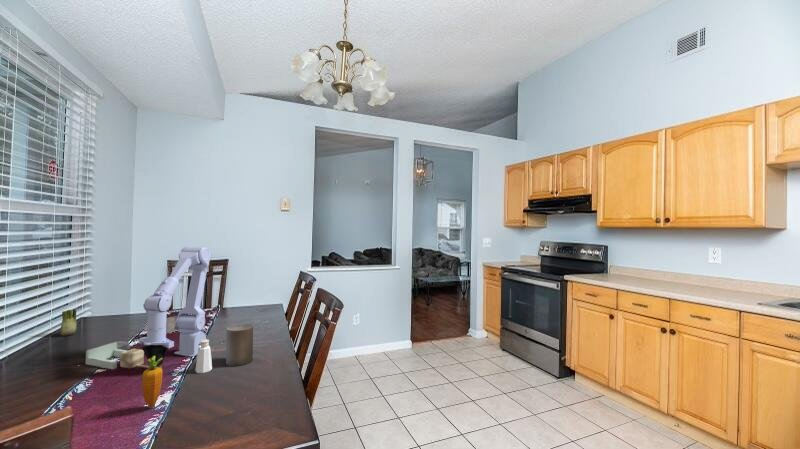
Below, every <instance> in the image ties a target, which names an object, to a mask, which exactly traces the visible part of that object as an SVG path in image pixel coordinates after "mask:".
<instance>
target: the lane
mask: <svg viewBox="0 0 800 449" xmlns="http://www.w3.org/2000/svg"><path fill="white" fill-rule="evenodd" d="M114 342H115V343H112V342H110V343H111V344H108V343H107V344H108V345H105V344H103V345H104V346H102V345H100V346H101V347H100V346H97V347H98V348H94V347H93V348H94V349H91V350H87V349H86V350H85V365H88V366H92V367H99V368H104V369H108V370H115V369H117V367H118V365H117V364H118V363H117V361H116V360H111V359H109V358H113V357H116V358H117V357H118V358H120V353H122V352H125V351H128V350H121V349H117V343H116V342H117V341H114Z"/></svg>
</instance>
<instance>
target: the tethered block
mask: <svg viewBox="0 0 800 449" xmlns="http://www.w3.org/2000/svg"><path fill="white" fill-rule="evenodd" d="M119 358H120V359H119V360H120V361H119V366H120V367H121V368H127V369H131V368H135V367H139V368H144V369H149V368H150V366H149V365H146V364H145V365H144V362H145V360H144V359H145V352H144V351H143V350H142V349H139V348H132V349H128V350H127V351H125V352H122V353H120V357H119ZM149 359H150V360H151V359H152V357H151V358H149ZM157 367H158V368H161V369H163V364H162V365H160V366H157Z"/></svg>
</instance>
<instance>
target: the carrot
mask: <svg viewBox="0 0 800 449" xmlns="http://www.w3.org/2000/svg"><path fill="white" fill-rule="evenodd" d="M162 359H163V358H160V359H159V360H158V361H157V362H155V356H153V357H152V359H151V360H150V359H148V360H146V363H147V364H148V366H150V368H146V369H145V370H144V371H143V373H142V376H141V391H142V395H143V399H144V401H145V404H146V405H147V407H148V408H149V409H153V408H154V406H155V405H156V403H157V401H158V399H159V396H160V392H161V389H162V386H163V385H162V382H163V368H158V367H156V366H157V364H158V363H159V362H160V361H161V360H162Z"/></svg>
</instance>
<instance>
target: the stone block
mask: <svg viewBox="0 0 800 449" xmlns="http://www.w3.org/2000/svg"><path fill="white" fill-rule="evenodd" d="M115 342H116V343H117V349H121V350H127V351H128V350H130V348H131V345H130V343H129V342H127V341H122V340H119V341H113V342H108V343H105V344H102V345H100V346H96V347H92V348H88V349H86V351H87V350H91V349H94V348H98V347H101V346H104V345H108V344H111V343H115Z"/></svg>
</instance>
